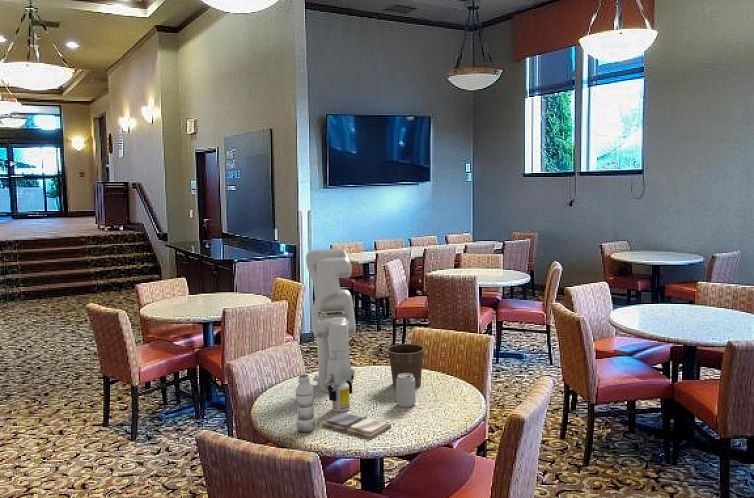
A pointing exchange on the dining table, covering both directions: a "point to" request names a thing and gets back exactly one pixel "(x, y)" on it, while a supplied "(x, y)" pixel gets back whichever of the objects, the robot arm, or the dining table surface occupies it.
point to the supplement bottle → (342, 397)
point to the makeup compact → (356, 425)
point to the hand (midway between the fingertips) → (340, 396)
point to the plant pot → (406, 361)
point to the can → (405, 390)
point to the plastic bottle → (305, 404)
